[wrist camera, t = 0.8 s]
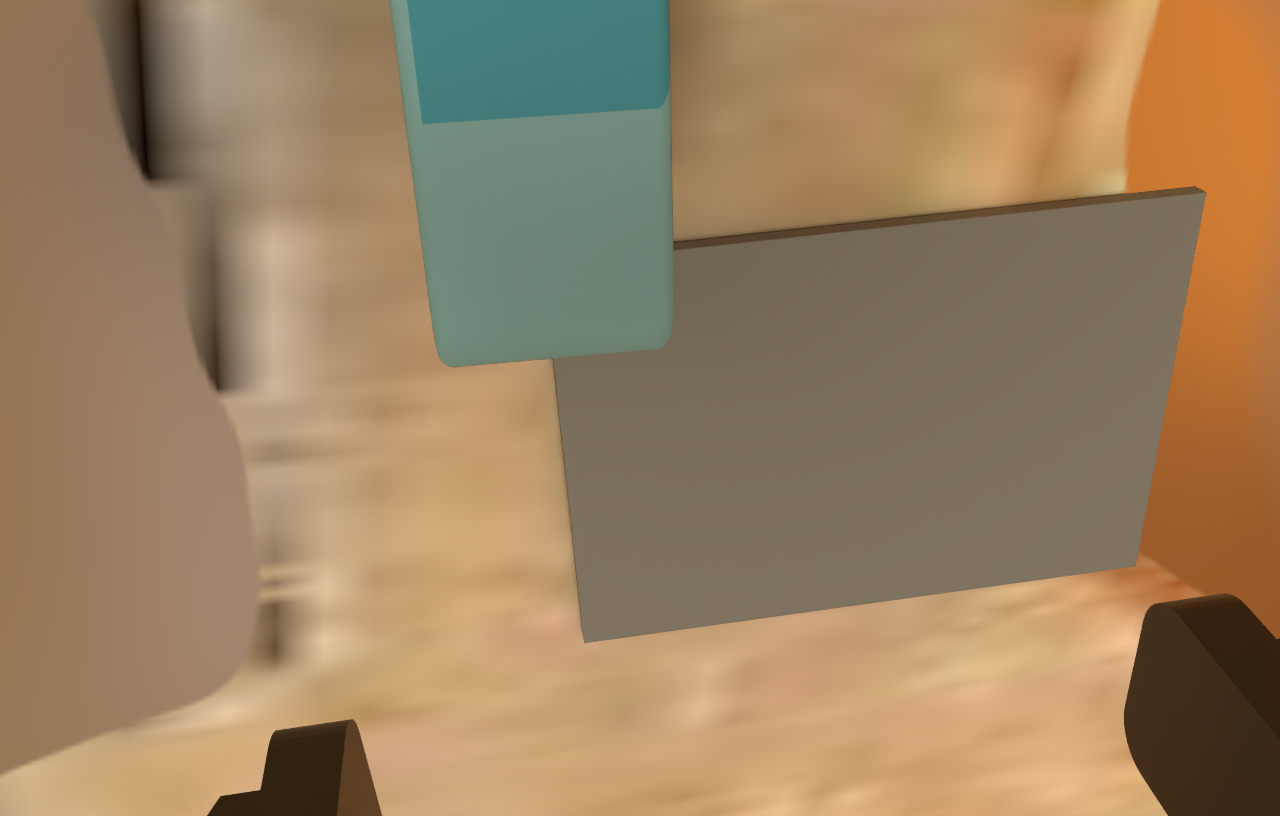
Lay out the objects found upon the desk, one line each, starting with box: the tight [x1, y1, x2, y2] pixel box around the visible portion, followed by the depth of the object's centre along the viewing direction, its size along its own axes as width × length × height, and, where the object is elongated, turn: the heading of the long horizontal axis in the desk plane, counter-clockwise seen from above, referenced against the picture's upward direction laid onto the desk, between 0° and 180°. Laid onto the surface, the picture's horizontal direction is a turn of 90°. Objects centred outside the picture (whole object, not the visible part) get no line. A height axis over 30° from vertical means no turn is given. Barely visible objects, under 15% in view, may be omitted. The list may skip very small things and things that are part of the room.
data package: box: [389, 0, 674, 367], centre depth 24 cm, size 12×4×12 cm, turn 2°
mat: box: [553, 186, 1206, 643], centre depth 37 cm, size 14×20×1 cm
